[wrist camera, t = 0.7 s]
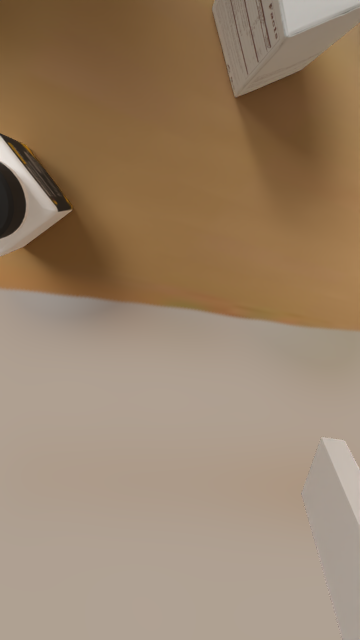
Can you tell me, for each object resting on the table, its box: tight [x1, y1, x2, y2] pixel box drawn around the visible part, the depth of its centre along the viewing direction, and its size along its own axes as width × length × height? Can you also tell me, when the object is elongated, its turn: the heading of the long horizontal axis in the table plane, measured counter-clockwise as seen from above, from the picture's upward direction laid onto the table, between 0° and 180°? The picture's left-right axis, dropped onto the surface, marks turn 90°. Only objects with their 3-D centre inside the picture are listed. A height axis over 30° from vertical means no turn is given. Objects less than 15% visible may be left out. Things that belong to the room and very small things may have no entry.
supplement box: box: [212, 0, 360, 97], centre depth 23 cm, size 7×7×13 cm
